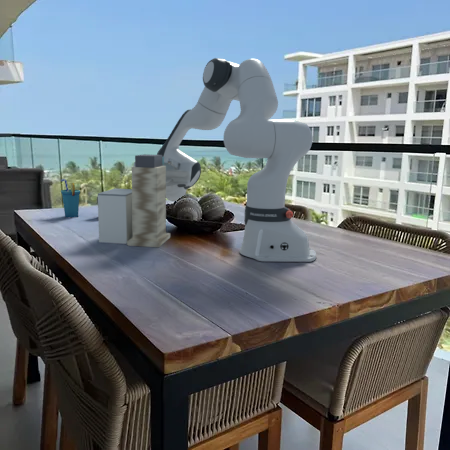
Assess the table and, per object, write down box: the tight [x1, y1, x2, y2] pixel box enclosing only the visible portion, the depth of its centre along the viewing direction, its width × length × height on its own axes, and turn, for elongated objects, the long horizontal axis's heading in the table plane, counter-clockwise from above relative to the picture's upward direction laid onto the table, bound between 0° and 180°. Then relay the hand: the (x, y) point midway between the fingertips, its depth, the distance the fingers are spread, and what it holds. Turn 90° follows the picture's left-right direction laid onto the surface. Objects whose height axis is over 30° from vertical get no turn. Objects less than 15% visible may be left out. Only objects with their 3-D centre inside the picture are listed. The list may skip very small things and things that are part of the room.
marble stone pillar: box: [126, 166, 171, 248], centre depth 144 cm, size 10×14×24 cm
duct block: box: [97, 188, 133, 245], centre depth 148 cm, size 9×14×16 cm, turn 172°
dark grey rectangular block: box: [134, 153, 164, 168], centre depth 145 cm, size 6×18×4 cm, turn 172°
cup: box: [60, 178, 81, 218], centre depth 184 cm, size 14×8×15 cm, turn 45°
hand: (157, 159), depth 151 cm, fingers open, 7 cm apart
